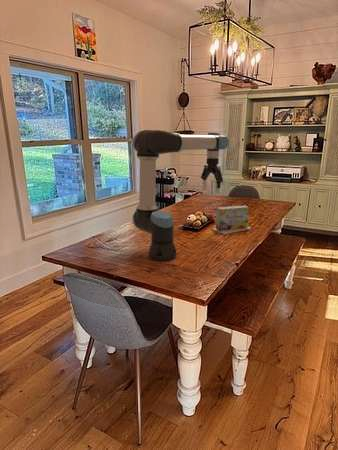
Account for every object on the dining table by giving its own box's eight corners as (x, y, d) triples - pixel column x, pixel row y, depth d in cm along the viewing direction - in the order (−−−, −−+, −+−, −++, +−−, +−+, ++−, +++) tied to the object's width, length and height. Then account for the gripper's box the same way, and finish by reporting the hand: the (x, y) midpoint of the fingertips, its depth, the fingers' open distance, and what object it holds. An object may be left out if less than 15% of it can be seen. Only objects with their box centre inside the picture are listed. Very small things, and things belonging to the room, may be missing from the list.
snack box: (219, 231, 208) (220, 209, 204) (215, 228, 213) (216, 207, 209) (247, 228, 214) (249, 206, 210) (243, 225, 219) (244, 204, 215)
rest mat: (252, 228, 215) (252, 227, 215) (222, 234, 203) (222, 233, 203) (240, 224, 225) (240, 223, 225) (210, 229, 213) (210, 228, 213)
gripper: (230, 159, 188) (227, 194, 194) (205, 156, 209) (204, 188, 215) (220, 159, 185) (218, 195, 190) (196, 156, 206) (195, 188, 211)
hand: (210, 191), depth 203 cm, fingers open, 13 cm apart
